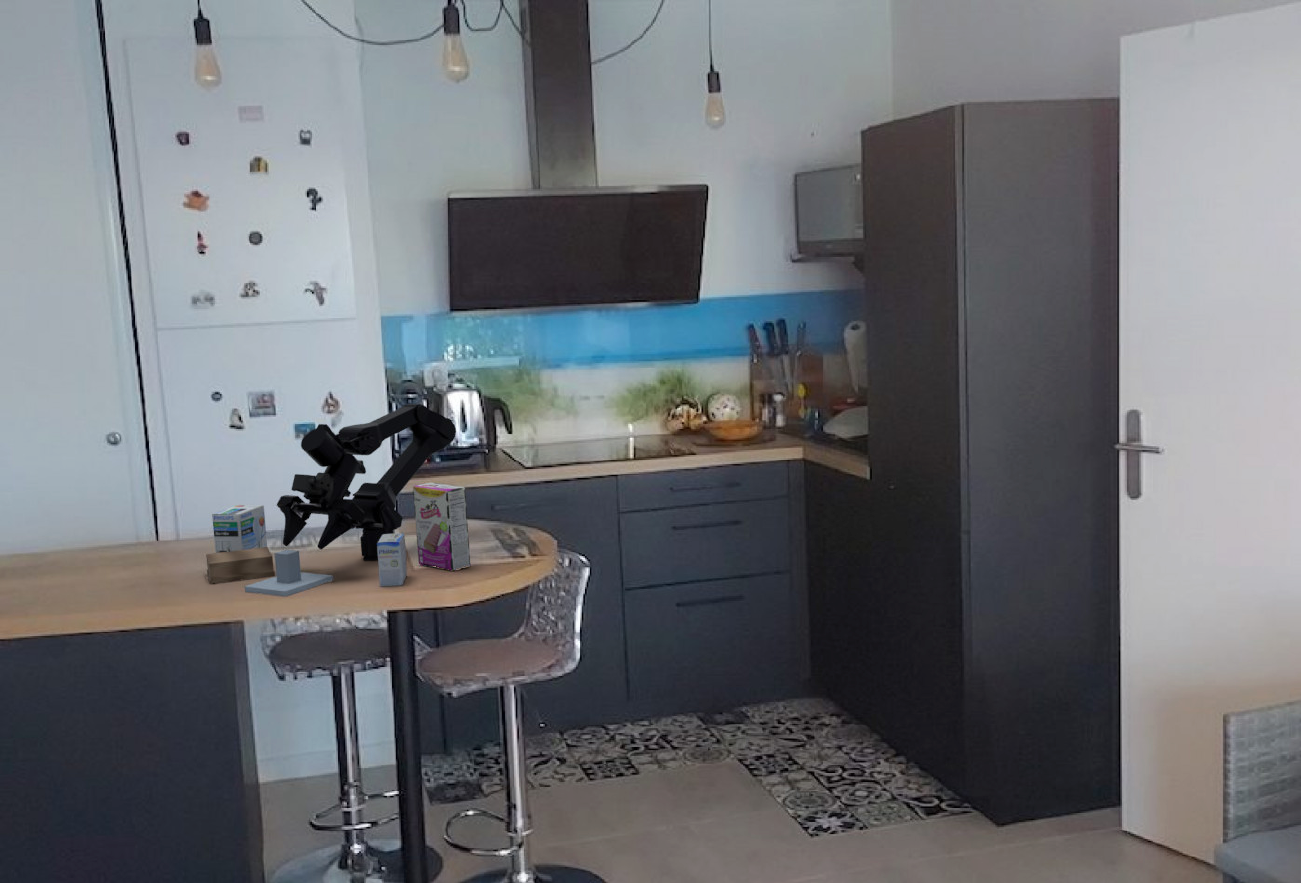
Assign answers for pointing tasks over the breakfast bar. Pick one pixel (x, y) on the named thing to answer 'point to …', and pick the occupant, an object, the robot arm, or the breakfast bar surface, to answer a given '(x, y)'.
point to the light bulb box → (239, 528)
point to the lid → (288, 577)
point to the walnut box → (239, 565)
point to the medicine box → (392, 559)
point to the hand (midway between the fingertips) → (301, 546)
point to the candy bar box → (441, 525)
